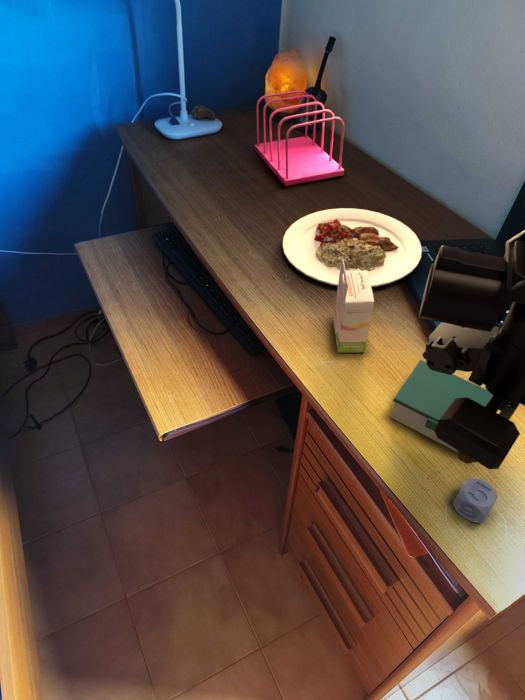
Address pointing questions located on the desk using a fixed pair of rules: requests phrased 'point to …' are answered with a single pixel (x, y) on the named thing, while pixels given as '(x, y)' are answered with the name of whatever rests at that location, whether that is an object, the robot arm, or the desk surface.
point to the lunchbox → (432, 399)
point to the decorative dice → (475, 500)
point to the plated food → (352, 245)
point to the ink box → (352, 310)
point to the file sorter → (299, 146)
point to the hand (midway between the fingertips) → (481, 433)
